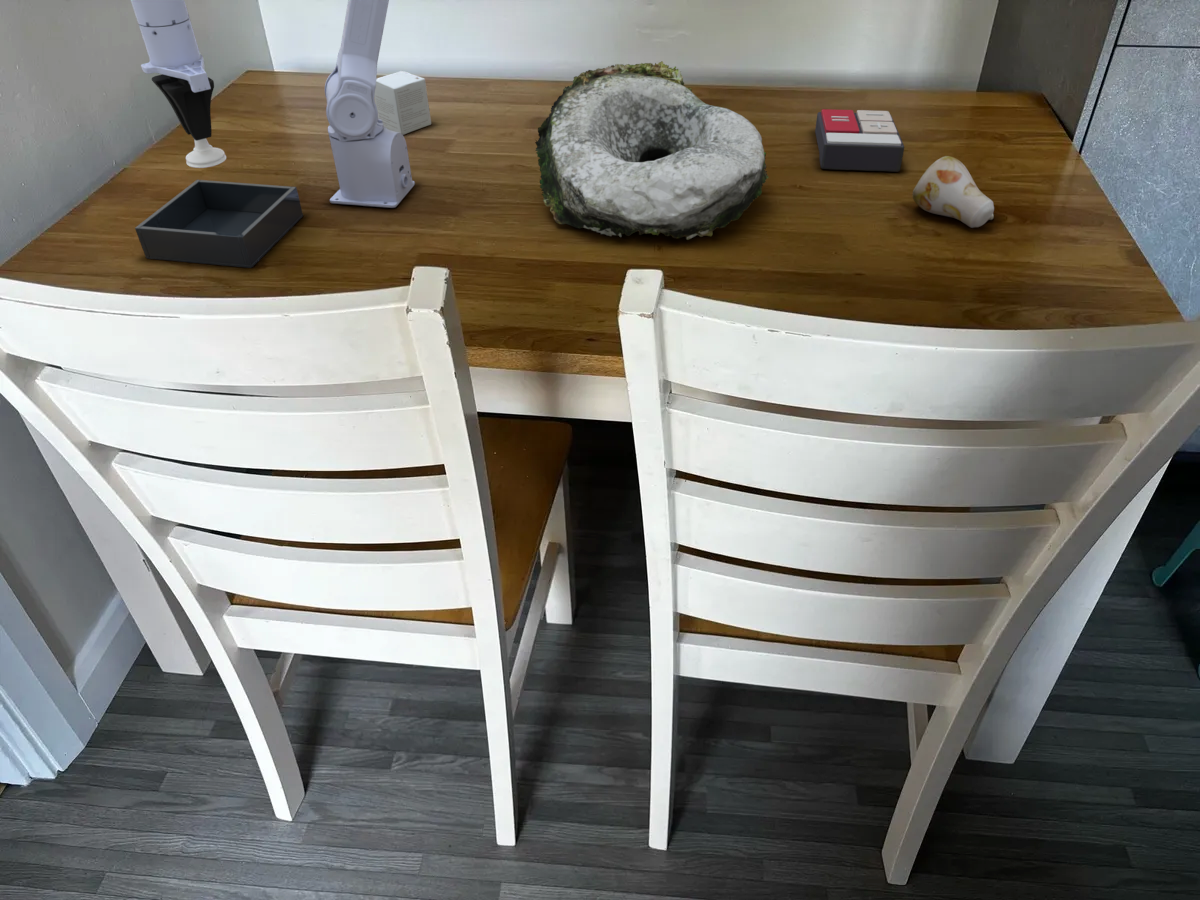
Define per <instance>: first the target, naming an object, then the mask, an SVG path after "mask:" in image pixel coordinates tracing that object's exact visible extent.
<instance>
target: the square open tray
mask: <svg viewBox="0 0 1200 900" xmlns="http://www.w3.org/2000/svg"><path fill="white" fill-rule="evenodd" d="M303 217H304V214H303V209H302V205H301V200H300V196H299V192H298V188H297V186H290V185H289V186H288V185H275V184H273V185H272V184H260V183H248V182H247V183H246V182H234V181H222V180H221V181H219V180H206V179H196V180H195V181H193V182H192V183H190V184H189V185H187V187H186V188H184V189H183V190H181V191H180V192H179V193H178V194H176V196H174V197H172V198H171V199H170V200H169V201H168V202H166V203H165V204H164V205H161V207H160V208H158V209H157V210H155V211H154V213H151V215H150V216H148V217H147V218H146V219H145V220H143V221H141V223H138V225H136V226H135V227H134V230H135V233H136V235H137V238H138V241H139V243H140V246H141V248H142V251H143V254H144V256H145V259H148V260H160V261H169V262H172V261H173V262H180V263H181V262H182V263H192V264H204V265H215V266H225V267H236V268H248V269H252V268H253V267H254V266H256V264H258V262H259V261H261V260H262V259H263V257H265V255H267V253H268V252H270V250H271V249H272V248H273V247H274V246H275V245H276V244H278V243H279V241H280V240H281V239H282V238H283V237H284V236H285V235H287V234H288V233H289V231H291V230H292V228H293V227H294V226H296V225H297V224H298V222H299V221H300V220H301V219H302V218H303Z"/></svg>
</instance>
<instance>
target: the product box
mask: <svg viewBox="0 0 1200 900" xmlns="http://www.w3.org/2000/svg"><path fill="white" fill-rule="evenodd" d="M427 90H428V89H427V84H426V78H424V77H421V76H419V75H416V74H413V73H410V72H407V71H405V70H399V71H396V72H393V73H390V74H387V75H383V76H380V77H377V78H376V88H375V95H374V99H375V104H376V107H377V110H378V118H379V119H381V120H382V122H383V126H384V127H385V128H387V129H389V130H391V131H395V132H399V133H401V134H402V135H403V136H404V135H406V134H409V133H413V132H414V131H417V130H420V129H422V128H425V127H428V126H431V125H432V117H431V112H430V105H429V98H428V97H429V96H428V91H427Z"/></svg>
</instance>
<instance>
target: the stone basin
mask: <svg viewBox="0 0 1200 900" xmlns="http://www.w3.org/2000/svg"><path fill="white" fill-rule="evenodd" d="M692 89H693V88H691V87H687V86H685V82H684V77H683V75H682V71H681V70H680V69H679V68H677V66H676V65H675V66H674V67H670V65H669V64H668V65H667V64H665V63H664V61H663V60H661V61H660V62H657V63H656V62H655V63H652V62H641V63H636V64H629V63H628V64H627V63H626V64H624V63H623V64H622V63H620V64H619V63H616V64H612V65H608V66H607V67H603V68H599V67H598V68H595V69H593V70H592V69H588V70H585V71H583V72H581V73H579V74H578V75H575V76H573V80H572V84H571V85H568V86H564V88H563V90H562V94H561V95H559V96H558V97H557V99H556V100H555V101H554V102H553V105H551V107H550V112H549V114H548V116H547V117H546V118H545V119H544V121H542V123H541V124H540V126H539V127H537V133H538V134H537V135H538V139H537V140H536V139H535V141H534V143H535V145H536V148H535V149H534V150H535V151H536V152H535V151H534V152H535V154H537V155H536V156H537V158H538V160H537V161H538V162H537V163H538V164H537V165H538V166H539V172H540V176H539V177H540V180H539V184H540V185H539V189H541V190H540V192H541V191H542V194H541V196H542V197H543V203H544V205H545V206H546V207H548V208H549V212H551V214H552V215H553V220H554V222H555V223H557V224H559V225H568V226H571V227H574V228H576V229H579V230H580V229H583V228H584V229H587V230H591V231H593V232H596V233H600V235H606V236H609V237H612V236H619V237H620V238H622V236H623V235H625V236H628V237H630V236H631V235H633V234H635V233H636V232H638V235H640V236H642V235H644V234H645V235H648V234H651V235H653V236H655V235H656V236H659V235H660V234H663V235H664V236H665V237H670V236H671V237H672V238H673V239H681V238H684V237H685V239H686V240H687V241H689V240H691V239H692V238H695V237H696V236H699V237H700V238H702V237H704V236H707V237H712V236H713V235H714V234H713V233H714V232H713V231H715V230H716V229H722V228H726V227H727V225H729V224H731V223H732V222H734V221H737V220H739V219H740V217H742V216H743V214H744V212H745V211H747V210H748V209H749V207H751V204H752V203H754V201H756V199H758V197H761V196H762V193H763V190H762V188H763V186H764V184H766V183H767V180H768V179H769V178H770V177H769V175H768V173H767V172H768V171H767V164H766V156H767V152H765V149H764V145H763V138H762V135H761V134H760V132H759V131H758V129H757V128H756V126H755V125H754V124H753V123H752V122H751V121H750V120H749V119H748V118H745V117H744V116H743V115H741V114H740V113H737V112H735V111H733V110H731V109H729V108H727V107H721V106H716V105H710V104H708V103H705V102H704V101H702V100H701V99H700V98H699V97H698V96H697V95H696V94H695V93H694V92H693V90H692Z"/></svg>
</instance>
